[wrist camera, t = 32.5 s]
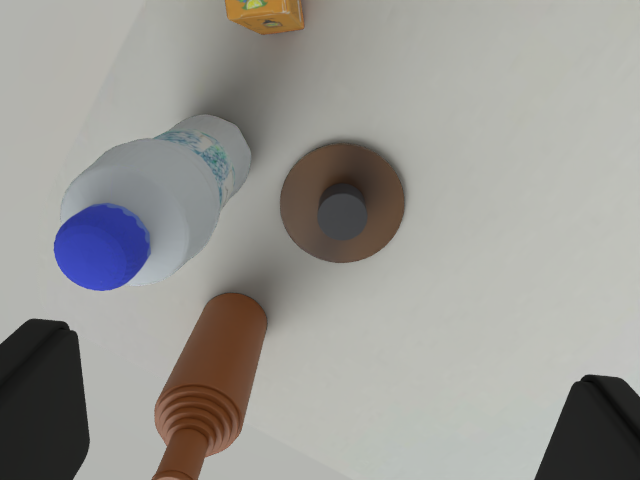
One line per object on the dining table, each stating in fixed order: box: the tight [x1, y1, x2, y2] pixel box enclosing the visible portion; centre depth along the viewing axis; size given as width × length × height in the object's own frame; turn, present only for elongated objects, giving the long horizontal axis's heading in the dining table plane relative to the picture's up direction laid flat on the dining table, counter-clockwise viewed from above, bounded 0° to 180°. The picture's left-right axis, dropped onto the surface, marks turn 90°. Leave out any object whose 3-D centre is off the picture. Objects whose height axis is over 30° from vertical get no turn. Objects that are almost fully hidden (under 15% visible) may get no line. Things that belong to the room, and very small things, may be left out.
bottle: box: [54, 114, 251, 291], centre depth 27 cm, size 7×7×20 cm
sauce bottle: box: [152, 293, 267, 480], centre depth 34 cm, size 6×6×18 cm
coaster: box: [280, 143, 404, 263], centre depth 37 cm, size 10×10×1 cm
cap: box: [317, 183, 367, 240], centre depth 35 cm, size 4×4×3 cm
